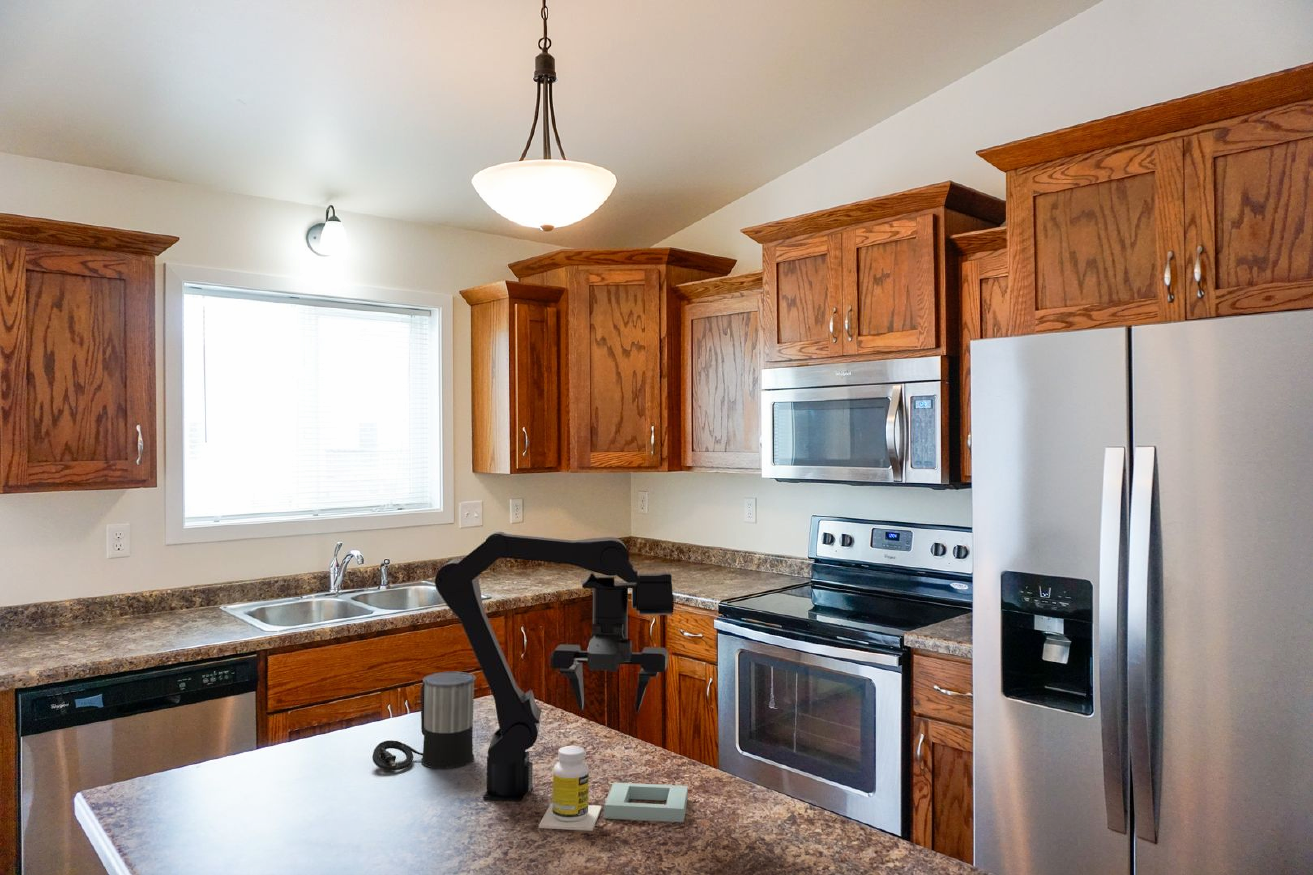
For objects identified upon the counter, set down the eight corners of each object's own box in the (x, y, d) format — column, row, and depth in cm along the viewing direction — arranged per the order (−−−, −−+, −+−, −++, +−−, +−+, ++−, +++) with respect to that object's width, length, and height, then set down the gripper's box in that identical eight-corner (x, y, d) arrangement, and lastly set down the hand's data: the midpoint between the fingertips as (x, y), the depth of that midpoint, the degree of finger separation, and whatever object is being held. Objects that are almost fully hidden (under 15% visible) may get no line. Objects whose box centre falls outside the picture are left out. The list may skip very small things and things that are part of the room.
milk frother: (485, 758, 155) (486, 675, 155) (417, 786, 141) (419, 695, 142) (430, 743, 162) (431, 664, 163) (361, 768, 149) (362, 682, 150)
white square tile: (538, 827, 126) (538, 824, 126) (550, 805, 134) (550, 803, 134) (592, 830, 125) (592, 827, 125) (601, 808, 133) (601, 805, 133)
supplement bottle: (582, 824, 126) (583, 757, 126) (547, 820, 127) (548, 754, 128) (592, 809, 132) (593, 745, 132) (559, 806, 133) (559, 742, 133)
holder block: (604, 818, 129) (604, 804, 129) (613, 794, 138) (613, 782, 138) (683, 822, 128) (683, 808, 128) (687, 798, 137) (687, 785, 137)
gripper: (543, 622, 134) (541, 723, 133) (662, 626, 132) (661, 728, 131) (558, 610, 145) (557, 703, 144) (668, 613, 143) (667, 707, 142)
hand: (609, 710), depth 140 cm, fingers open, 9 cm apart
